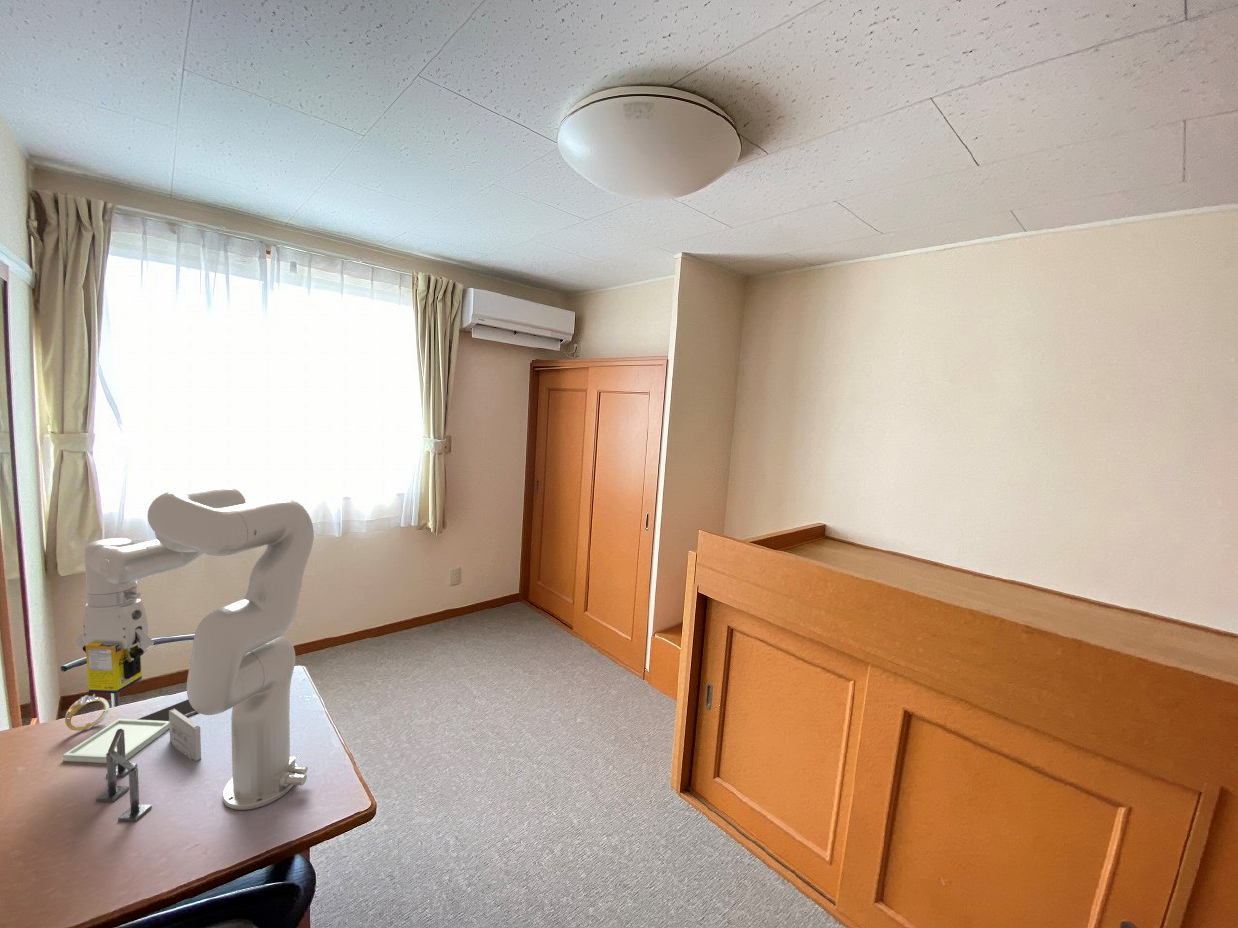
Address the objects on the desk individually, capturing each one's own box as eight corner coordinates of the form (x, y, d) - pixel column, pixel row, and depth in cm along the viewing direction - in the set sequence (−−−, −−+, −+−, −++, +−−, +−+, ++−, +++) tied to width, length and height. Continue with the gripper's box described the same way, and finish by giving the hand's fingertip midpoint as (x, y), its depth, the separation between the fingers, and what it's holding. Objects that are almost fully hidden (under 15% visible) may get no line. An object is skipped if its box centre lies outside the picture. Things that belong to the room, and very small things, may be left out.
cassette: (204, 757, 107) (203, 725, 106) (193, 762, 106) (192, 730, 105) (177, 737, 113) (176, 706, 112) (166, 742, 111) (165, 710, 110)
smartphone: (121, 724, 114) (205, 691, 128) (121, 729, 115) (205, 695, 128) (132, 737, 111) (218, 702, 124) (132, 741, 111) (218, 705, 125)
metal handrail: (154, 813, 93) (152, 767, 92) (104, 835, 88) (101, 787, 86) (135, 760, 105) (133, 718, 104) (90, 777, 100) (87, 733, 99)
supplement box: (142, 678, 111) (140, 633, 109) (116, 694, 105) (114, 646, 103) (115, 677, 110) (112, 631, 109) (87, 693, 104) (84, 644, 103)
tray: (171, 726, 116) (171, 721, 116) (121, 763, 104) (121, 757, 104) (119, 723, 115) (119, 718, 115) (63, 760, 103) (62, 754, 103)
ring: (68, 739, 109) (65, 706, 108) (64, 733, 111) (62, 700, 110) (111, 723, 115) (110, 691, 114) (107, 718, 117) (106, 686, 116)
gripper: (169, 592, 109) (172, 667, 111) (89, 587, 109) (94, 663, 111) (137, 605, 102) (141, 686, 104) (51, 600, 101) (57, 682, 103)
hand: (116, 673), depth 107 cm, fingers closed on supplement box, 6 cm apart
